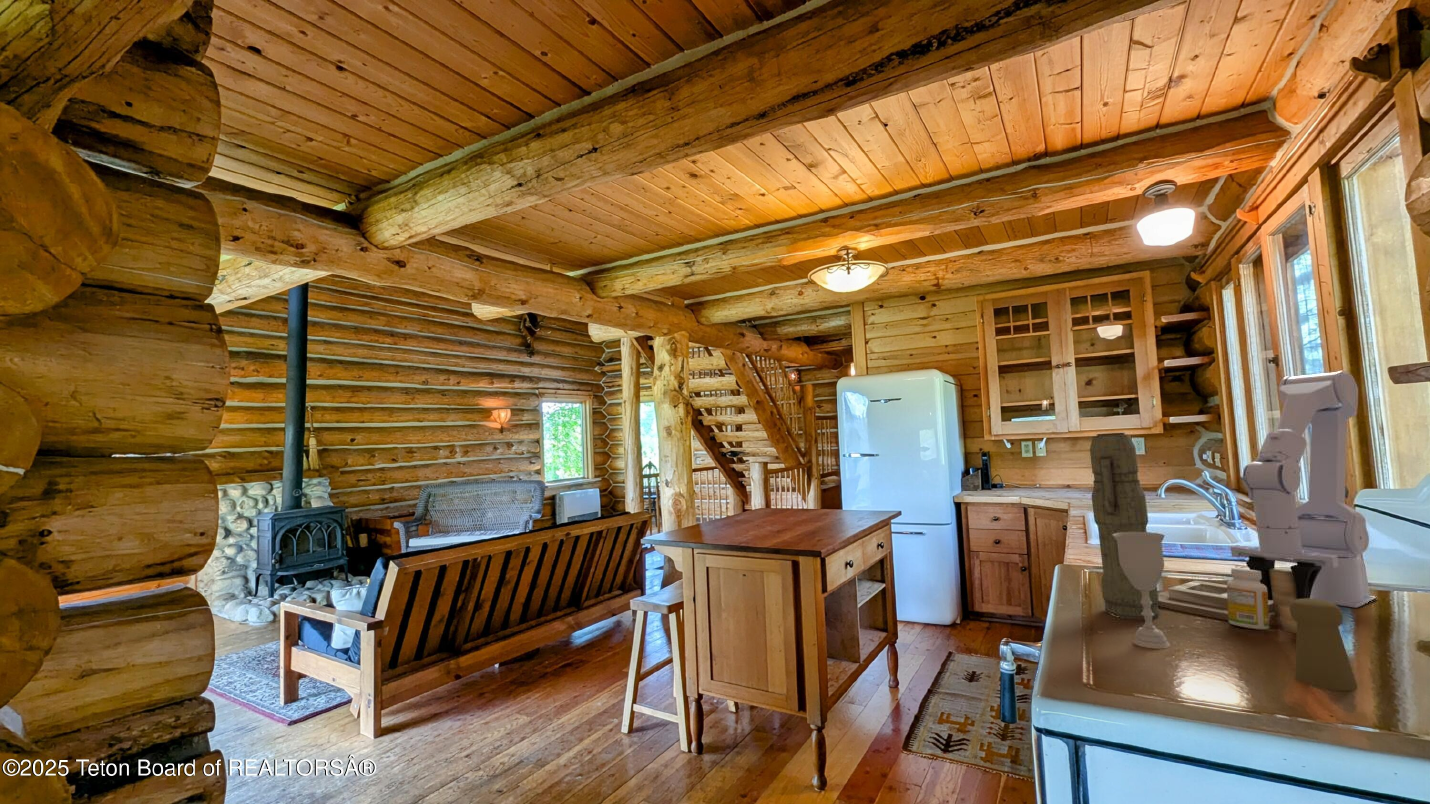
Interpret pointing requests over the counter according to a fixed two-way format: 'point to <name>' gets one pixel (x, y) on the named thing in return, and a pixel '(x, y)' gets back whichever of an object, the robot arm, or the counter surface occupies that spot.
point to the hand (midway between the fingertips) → (1287, 601)
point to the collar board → (1197, 607)
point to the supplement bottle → (1247, 600)
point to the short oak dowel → (1287, 618)
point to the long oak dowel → (1282, 587)
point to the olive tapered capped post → (1321, 646)
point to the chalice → (1143, 577)
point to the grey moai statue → (1118, 519)
